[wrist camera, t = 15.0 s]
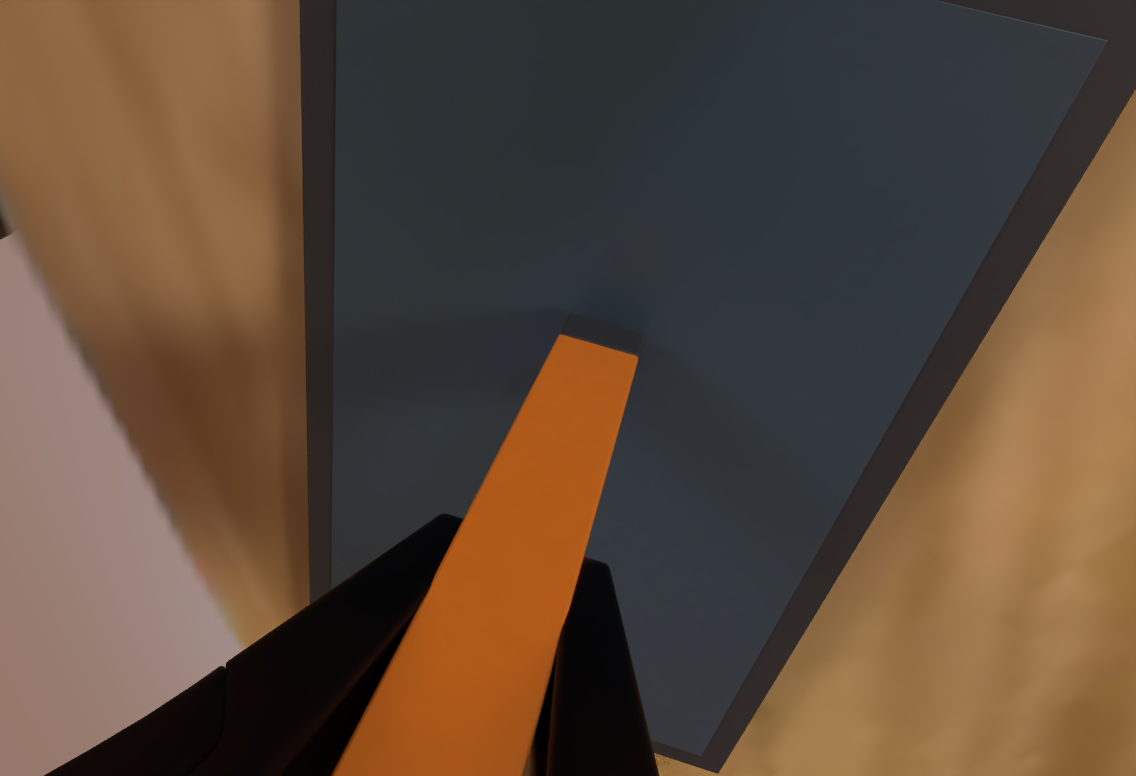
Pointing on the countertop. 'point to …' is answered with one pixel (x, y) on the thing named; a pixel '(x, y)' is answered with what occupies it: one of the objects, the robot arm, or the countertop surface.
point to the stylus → (504, 579)
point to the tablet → (676, 275)
